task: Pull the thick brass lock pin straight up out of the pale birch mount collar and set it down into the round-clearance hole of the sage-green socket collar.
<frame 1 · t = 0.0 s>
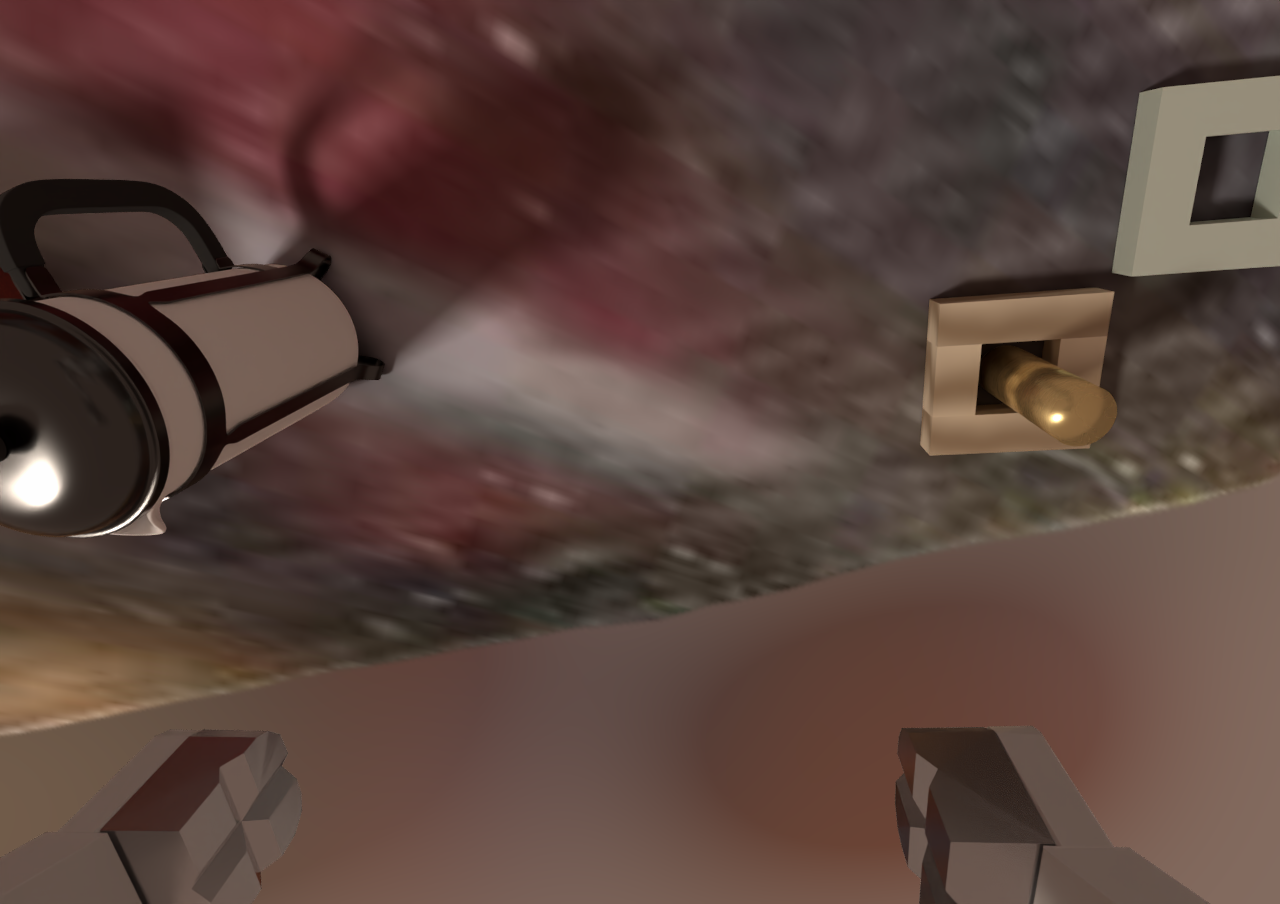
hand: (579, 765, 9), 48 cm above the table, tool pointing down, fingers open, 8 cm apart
plant pot: (2, 342, 61), on the table
socket block: (1216, 178, 48), on the table
birch mount: (1003, 370, 54), on the table
coffee press: (294, 320, 57), on the table
lock pin: (1038, 390, 48), in the birch mount
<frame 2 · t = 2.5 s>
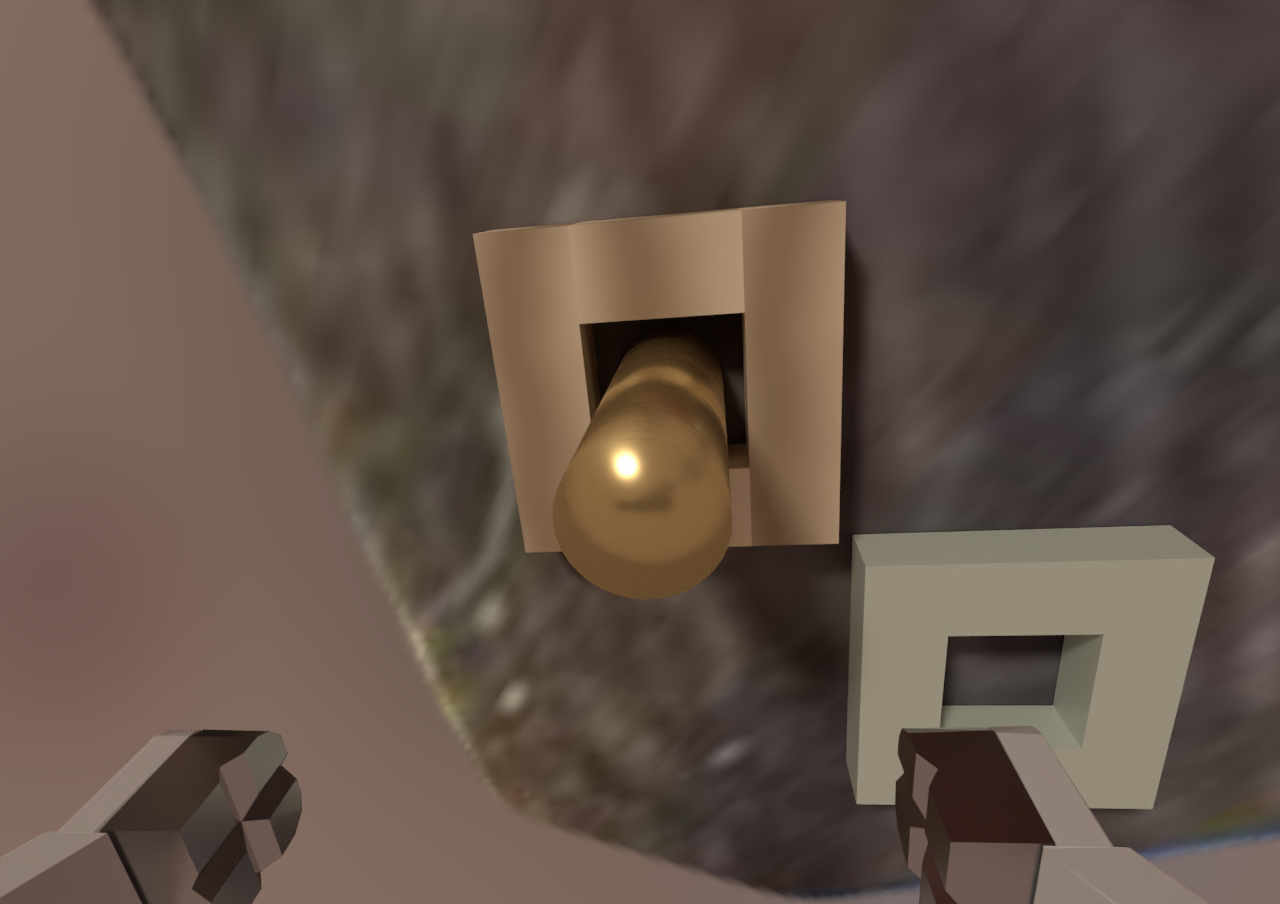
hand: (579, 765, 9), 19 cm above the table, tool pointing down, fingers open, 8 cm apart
socket block: (992, 653, 29), on the table
birch mount: (670, 379, 26), on the table
lock pin: (659, 431, 21), in the birch mount
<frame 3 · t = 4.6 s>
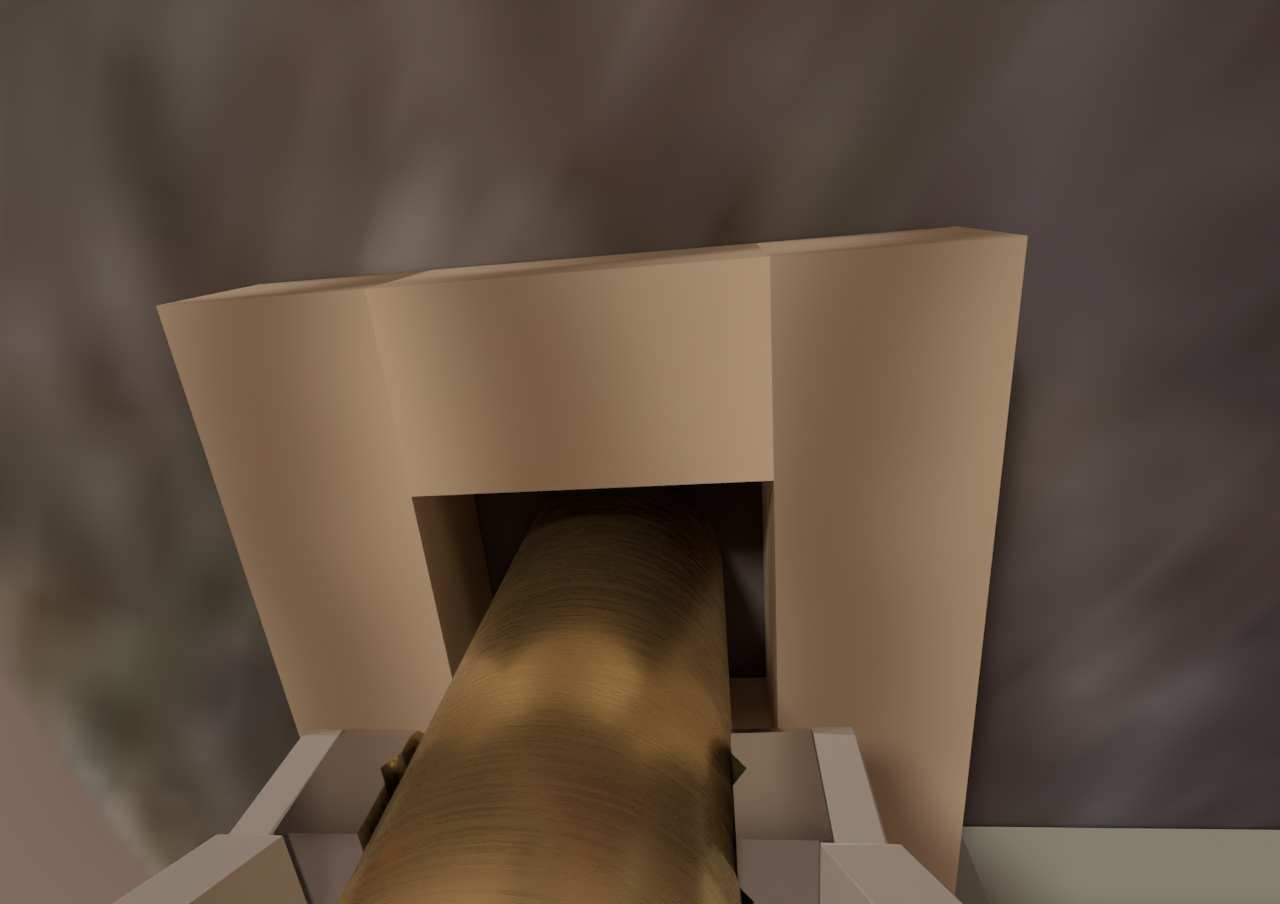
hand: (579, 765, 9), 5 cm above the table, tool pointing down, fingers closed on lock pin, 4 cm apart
birch mount: (622, 565, 14), on the table
lock pin: (567, 825, 8), in the birch mount, touching gripper
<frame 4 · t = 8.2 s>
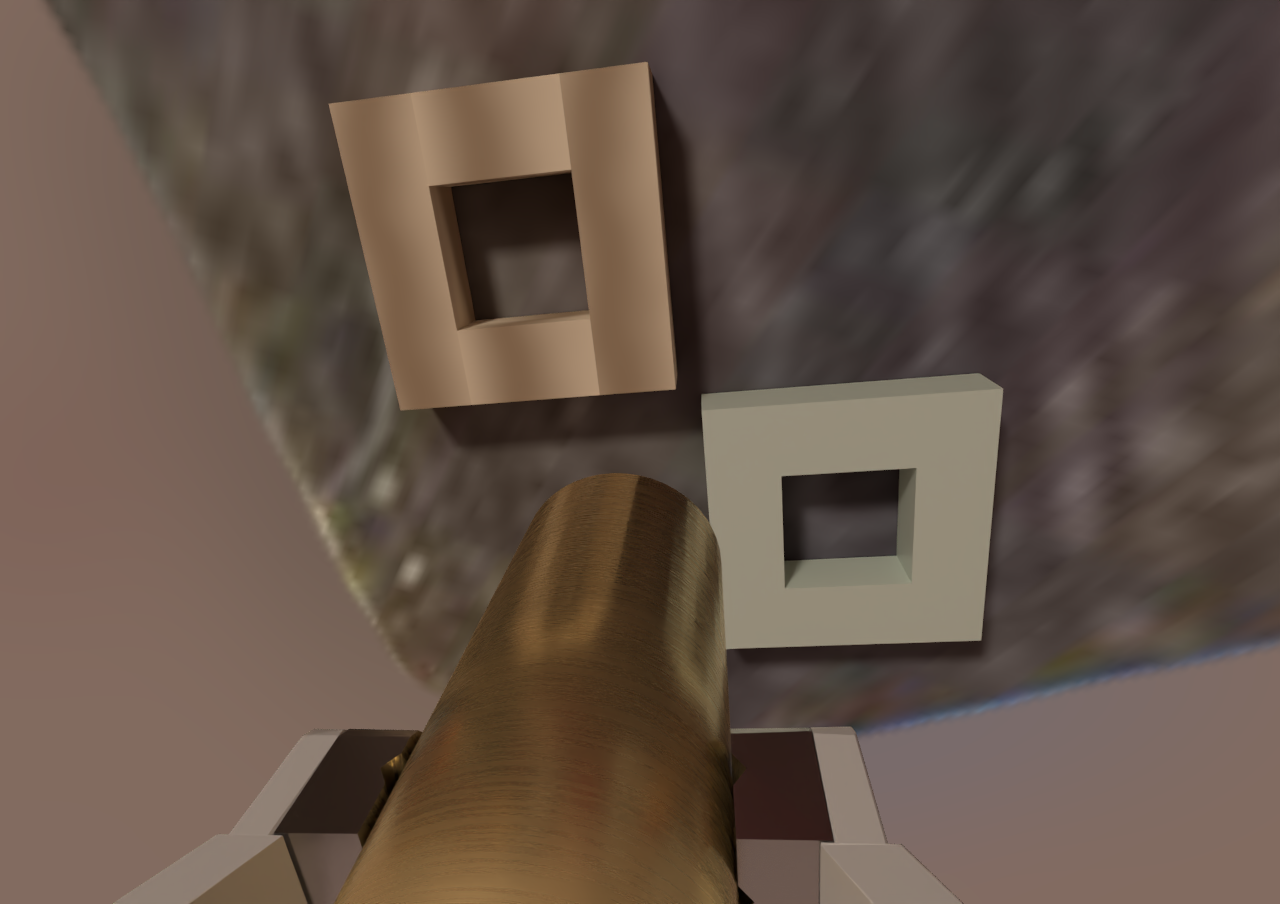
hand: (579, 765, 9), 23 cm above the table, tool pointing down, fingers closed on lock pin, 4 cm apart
socket block: (837, 506, 32), on the table
birch mount: (526, 249, 29), on the table
lock pin: (565, 824, 8), point 24 cm above the table, touching gripper
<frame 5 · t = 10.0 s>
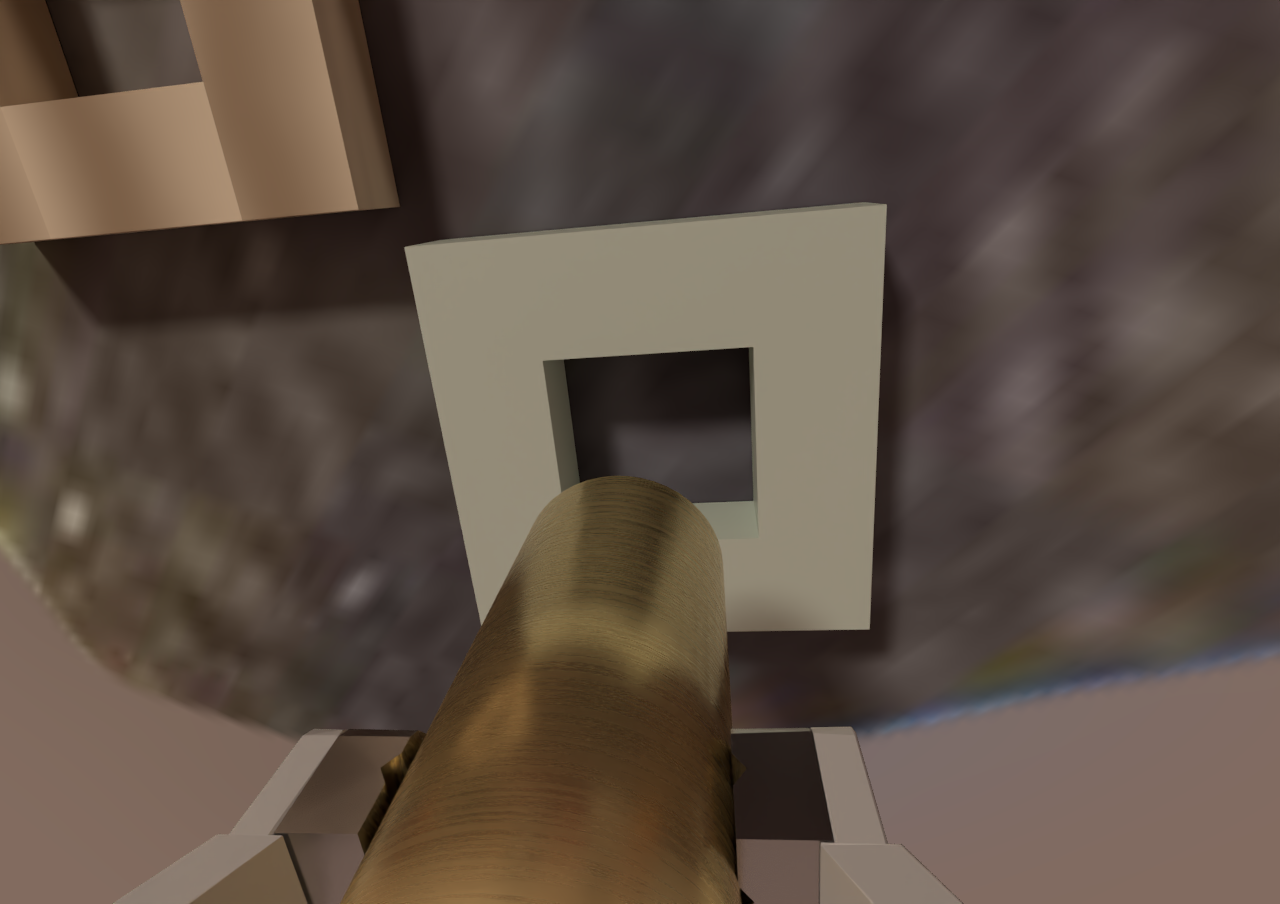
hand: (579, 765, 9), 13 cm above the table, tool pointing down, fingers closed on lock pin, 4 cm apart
socket block: (660, 423, 21), on the table
lock pin: (568, 828, 8), point 14 cm above the table, touching gripper
when the fingers open (7 cm above the table, at t = 11.6 s): lock pin drops 2 cm, resting in socket block.
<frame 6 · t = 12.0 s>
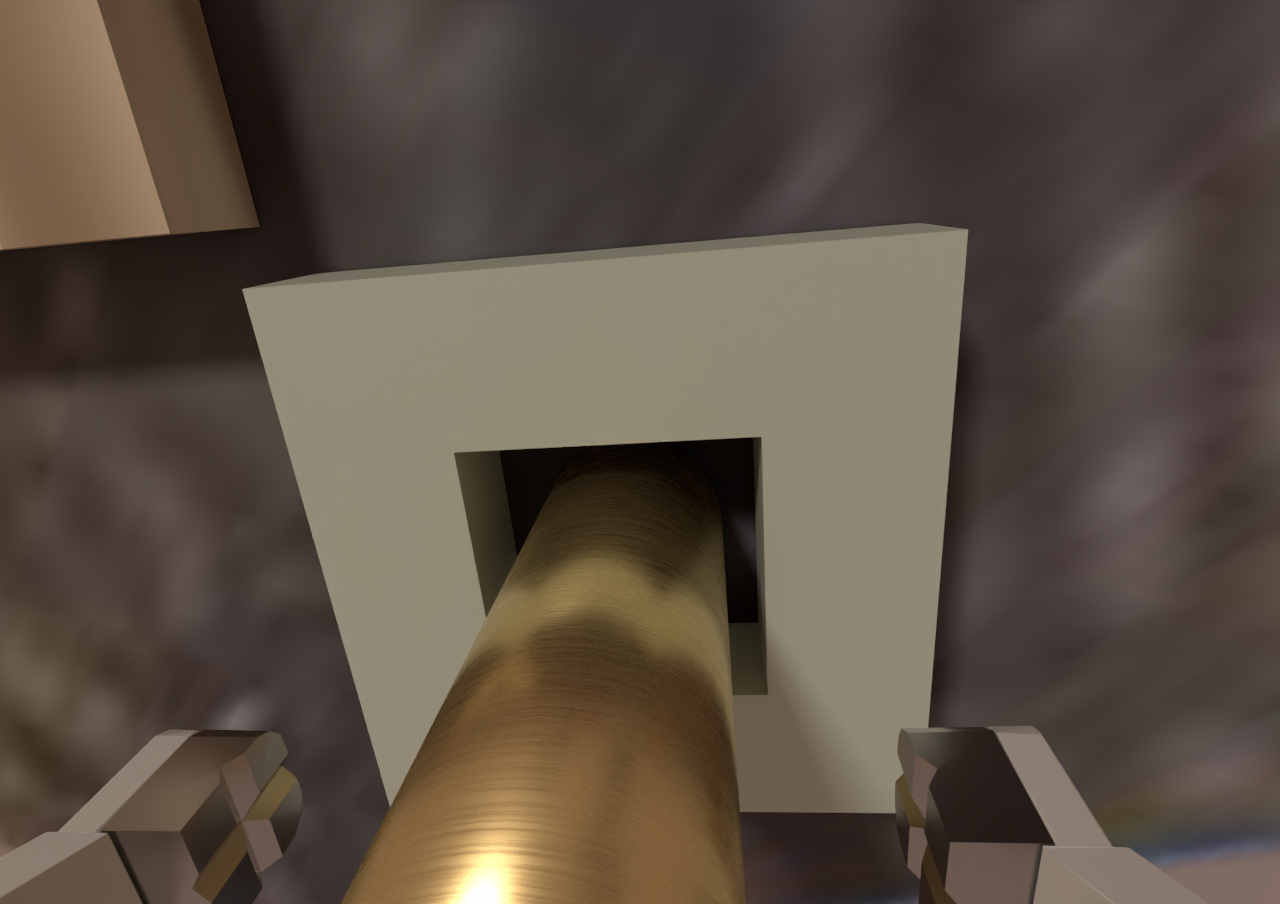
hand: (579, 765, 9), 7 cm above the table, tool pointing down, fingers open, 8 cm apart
socket block: (631, 521, 15), on the table
lock pin: (595, 706, 10), in the socket block
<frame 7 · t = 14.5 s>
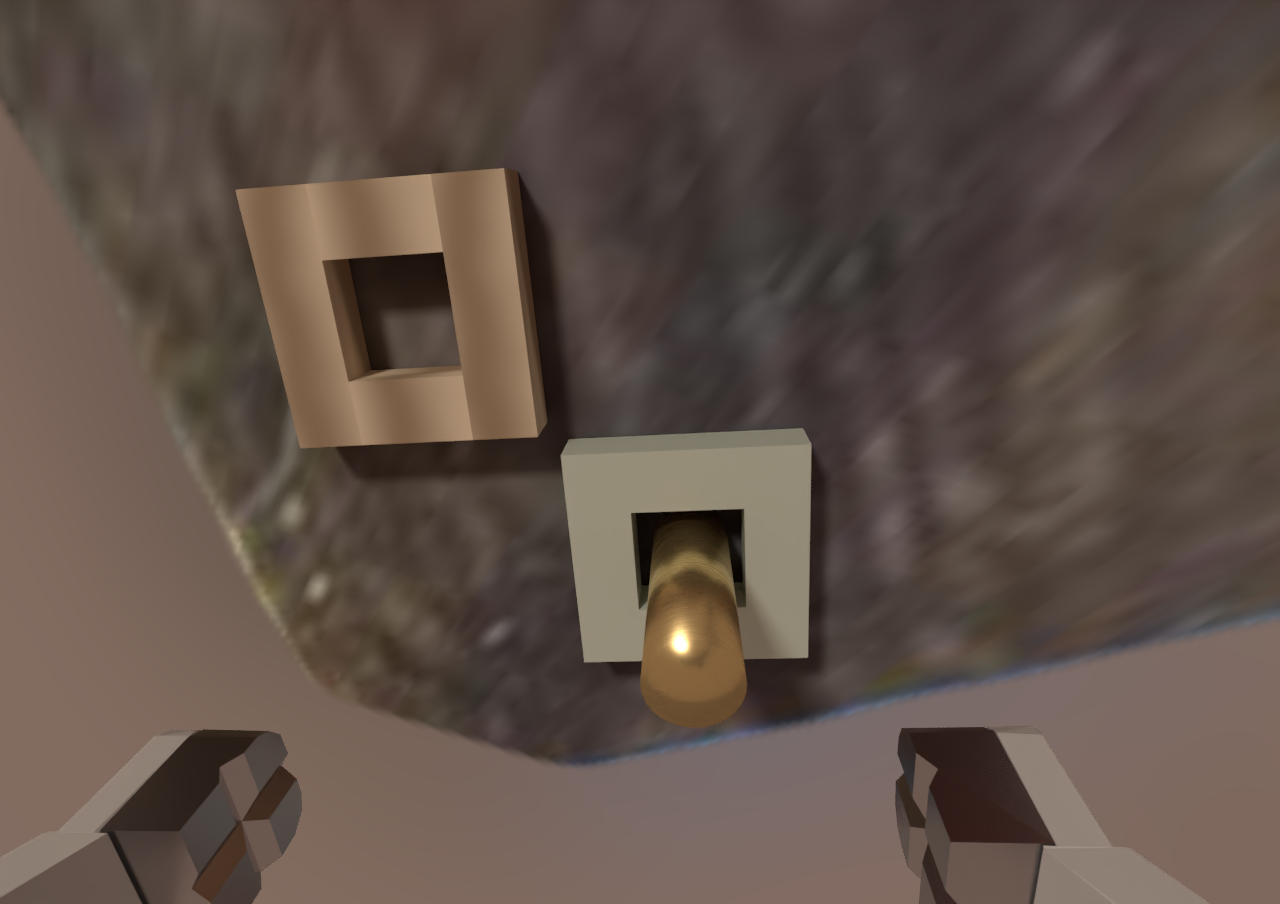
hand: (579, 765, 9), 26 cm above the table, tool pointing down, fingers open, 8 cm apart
socket block: (689, 538, 37), on the table
birch mount: (414, 311, 33), on the table
lock pin: (691, 598, 31), in the socket block
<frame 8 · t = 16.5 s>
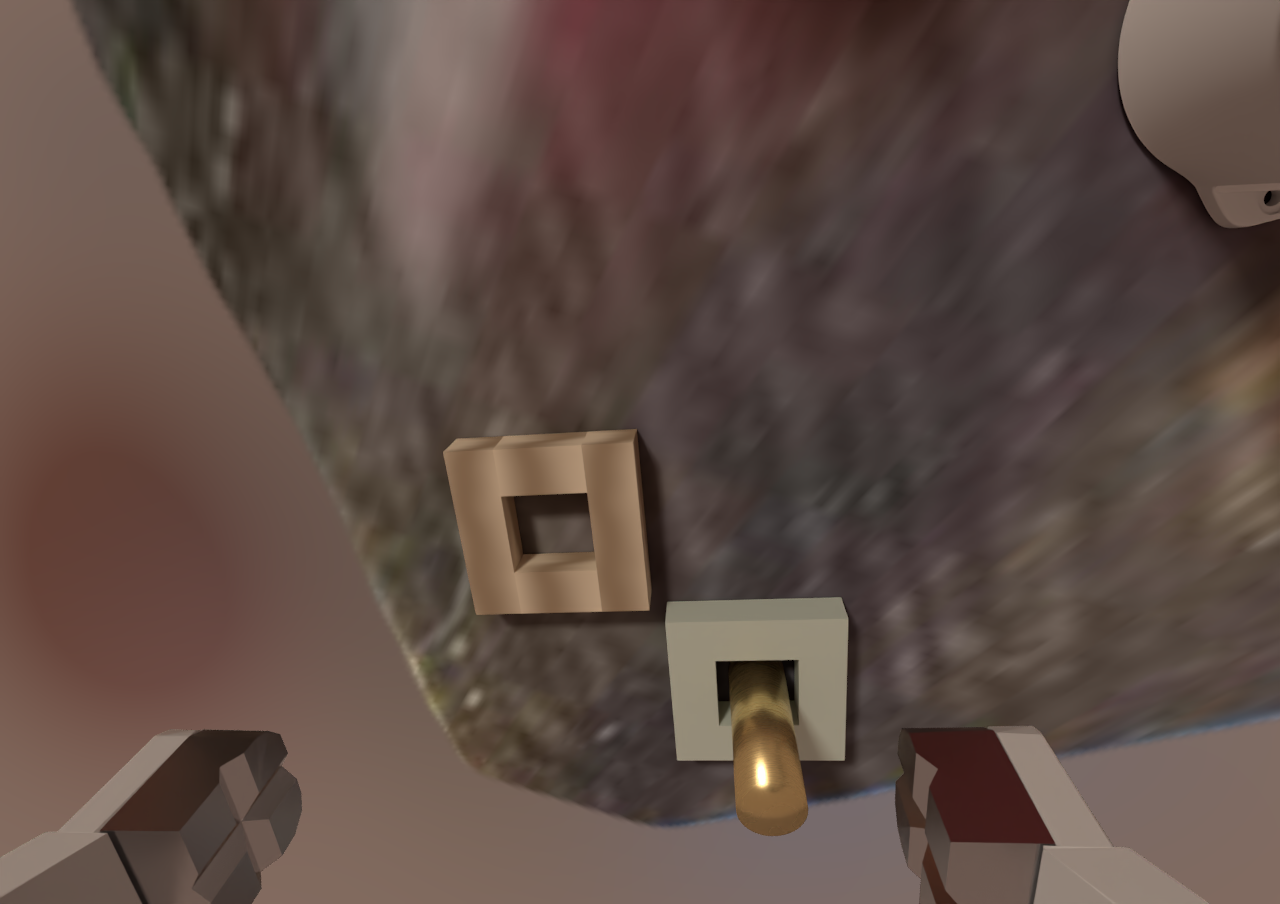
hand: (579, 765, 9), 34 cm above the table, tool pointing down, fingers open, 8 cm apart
socket block: (755, 670, 49), on the table
birch mount: (557, 516, 46), on the table
lock pin: (762, 730, 44), in the socket block
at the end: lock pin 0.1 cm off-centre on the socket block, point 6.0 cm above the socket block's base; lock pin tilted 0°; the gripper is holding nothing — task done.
